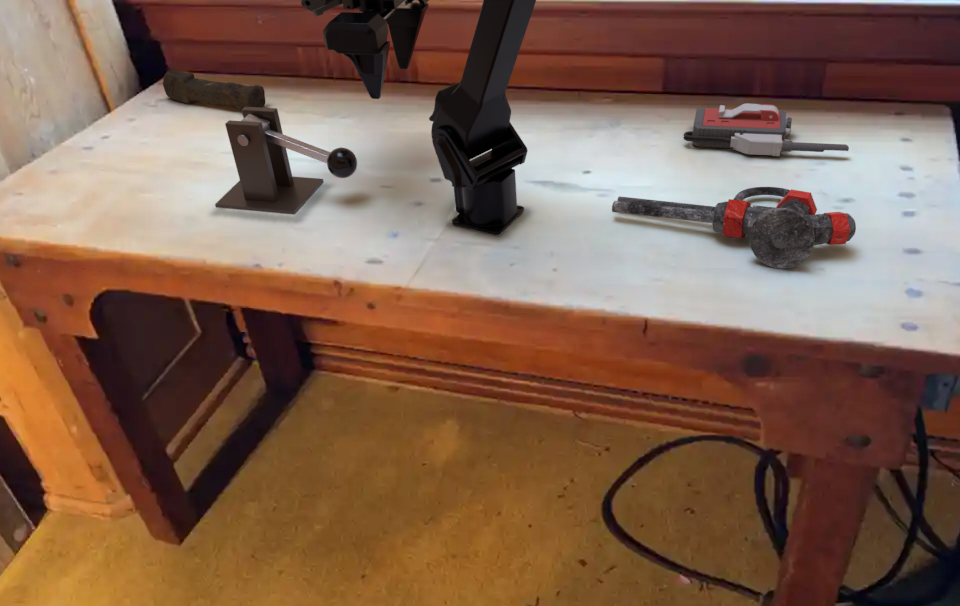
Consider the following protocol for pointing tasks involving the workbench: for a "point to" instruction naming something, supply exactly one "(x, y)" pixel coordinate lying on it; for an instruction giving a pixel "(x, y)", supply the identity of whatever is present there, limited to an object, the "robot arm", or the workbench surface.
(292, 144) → the lever
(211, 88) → the hand tool
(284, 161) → the bracket
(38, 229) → the workbench surface
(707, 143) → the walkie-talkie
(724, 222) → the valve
